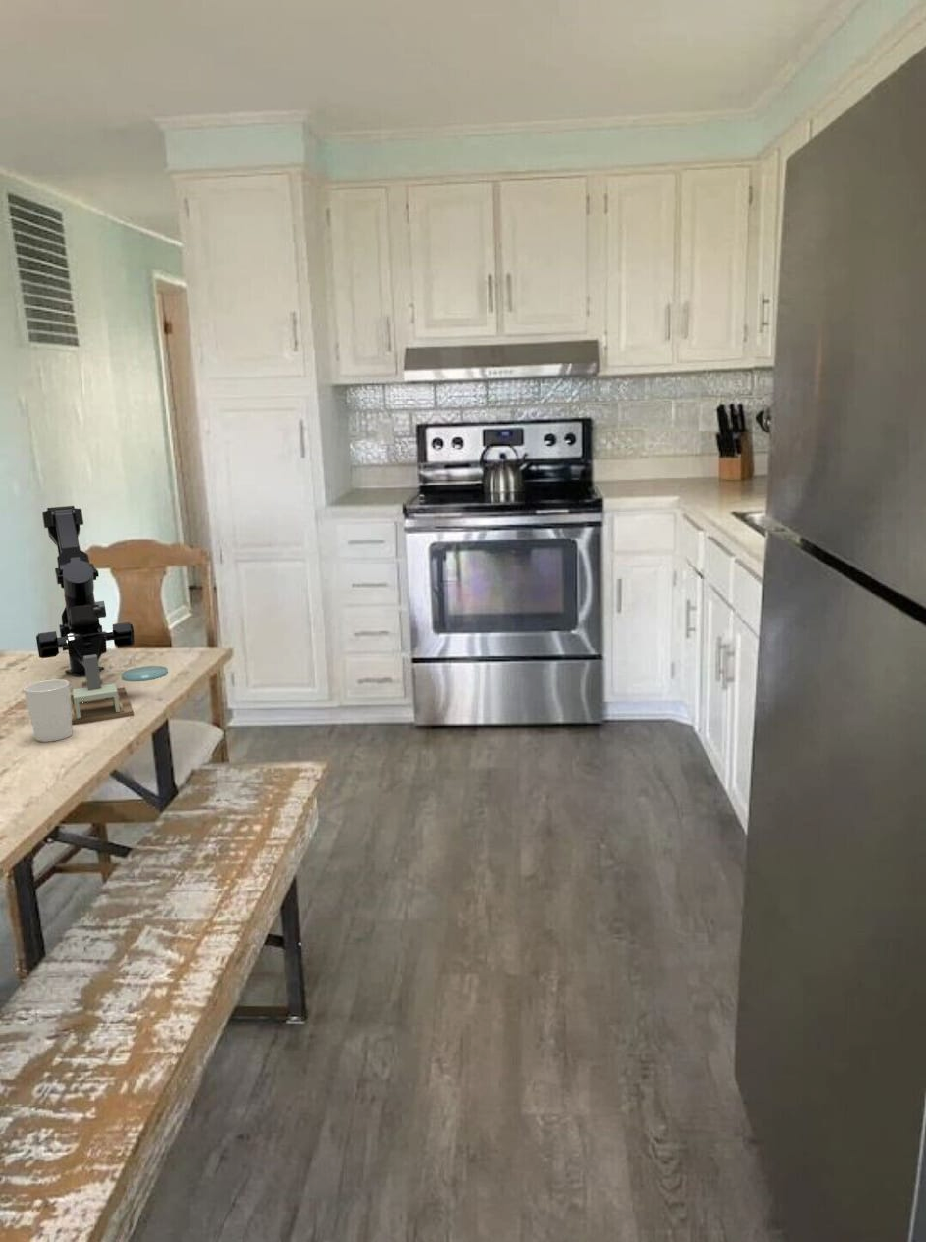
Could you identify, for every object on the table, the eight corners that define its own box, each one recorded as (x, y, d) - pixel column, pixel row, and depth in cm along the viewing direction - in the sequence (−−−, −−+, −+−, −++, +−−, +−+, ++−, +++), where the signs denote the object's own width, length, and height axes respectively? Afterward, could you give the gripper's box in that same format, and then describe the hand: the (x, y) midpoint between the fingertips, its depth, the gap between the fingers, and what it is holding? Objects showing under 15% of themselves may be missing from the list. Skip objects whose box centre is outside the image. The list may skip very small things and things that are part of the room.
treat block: (84, 700, 207) (81, 681, 206) (104, 697, 209) (101, 679, 208) (85, 705, 204) (82, 686, 203) (105, 702, 205) (103, 683, 204)
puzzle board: (60, 701, 207) (59, 695, 207) (125, 691, 212) (124, 685, 212) (64, 727, 190) (63, 721, 190) (134, 716, 195) (133, 709, 195)
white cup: (60, 744, 181) (53, 692, 179) (22, 742, 183) (14, 691, 181) (84, 729, 189) (77, 679, 186) (48, 728, 190) (40, 678, 188)
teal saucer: (113, 677, 224) (112, 674, 224) (150, 667, 232) (149, 663, 231) (140, 683, 218) (139, 680, 218) (177, 672, 226) (176, 669, 225)
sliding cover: (75, 709, 197) (68, 657, 195) (117, 702, 200) (110, 652, 198) (77, 718, 191) (69, 665, 189) (120, 711, 194) (113, 659, 192)
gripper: (29, 594, 196) (38, 661, 189) (127, 583, 203) (139, 647, 196) (34, 625, 205) (43, 689, 198) (128, 613, 212) (140, 675, 205)
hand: (91, 674), depth 199 cm, fingers closed
